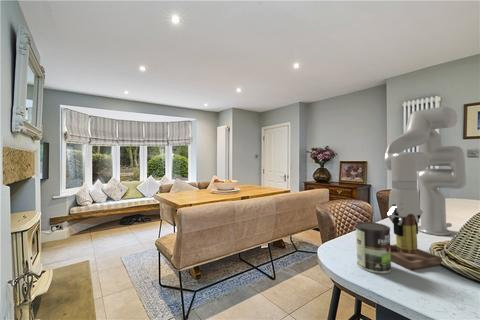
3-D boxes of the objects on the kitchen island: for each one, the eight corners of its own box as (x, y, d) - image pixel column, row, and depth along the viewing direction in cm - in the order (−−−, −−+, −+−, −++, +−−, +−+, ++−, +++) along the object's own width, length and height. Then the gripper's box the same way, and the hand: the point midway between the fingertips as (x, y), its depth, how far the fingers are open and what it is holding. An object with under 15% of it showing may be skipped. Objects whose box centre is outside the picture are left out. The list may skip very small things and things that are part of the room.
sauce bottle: (410, 248, 84) (408, 196, 84) (422, 255, 77) (420, 199, 77) (392, 247, 84) (390, 196, 84) (402, 254, 78) (401, 199, 78)
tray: (403, 249, 89) (403, 243, 89) (442, 264, 76) (442, 257, 76) (375, 253, 86) (375, 247, 86) (410, 270, 72) (410, 263, 72)
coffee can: (397, 268, 74) (396, 227, 74) (380, 277, 69) (378, 232, 69) (368, 257, 83) (366, 220, 83) (350, 263, 78) (349, 224, 78)
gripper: (412, 183, 87) (413, 228, 87) (376, 185, 82) (378, 233, 82) (432, 185, 79) (434, 234, 79) (395, 188, 75) (396, 240, 75)
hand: (405, 233), depth 81 cm, fingers closed on sauce bottle, 6 cm apart
